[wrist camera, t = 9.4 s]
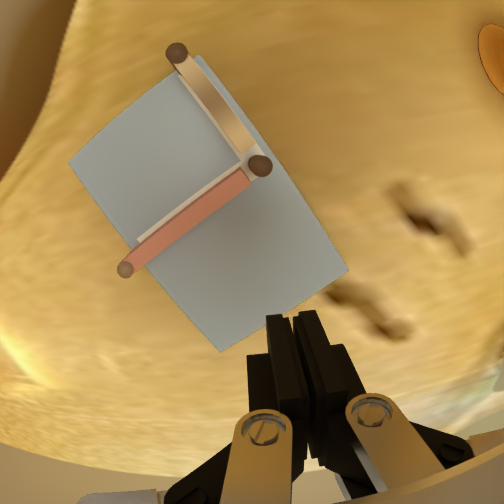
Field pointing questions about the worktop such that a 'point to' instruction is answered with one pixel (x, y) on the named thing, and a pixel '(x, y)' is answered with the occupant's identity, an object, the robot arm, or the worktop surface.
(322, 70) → the worktop surface
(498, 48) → the cup
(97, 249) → the worktop surface
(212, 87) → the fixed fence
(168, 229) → the bar
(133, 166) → the card
